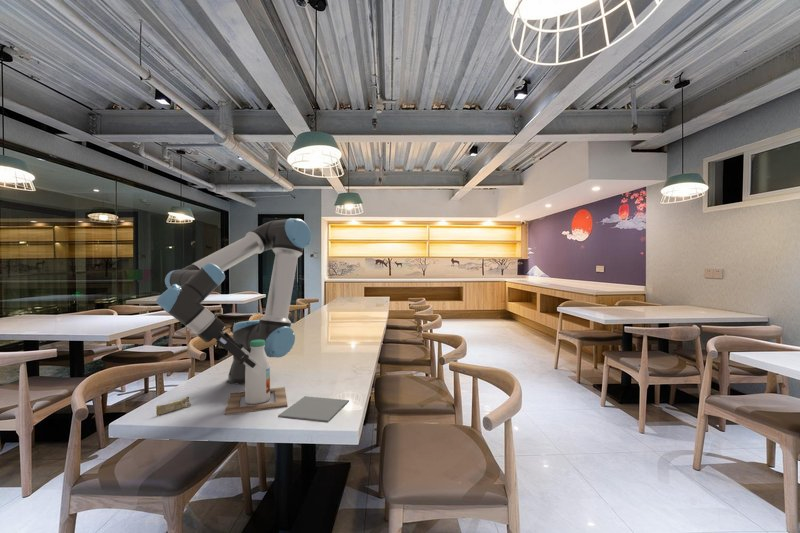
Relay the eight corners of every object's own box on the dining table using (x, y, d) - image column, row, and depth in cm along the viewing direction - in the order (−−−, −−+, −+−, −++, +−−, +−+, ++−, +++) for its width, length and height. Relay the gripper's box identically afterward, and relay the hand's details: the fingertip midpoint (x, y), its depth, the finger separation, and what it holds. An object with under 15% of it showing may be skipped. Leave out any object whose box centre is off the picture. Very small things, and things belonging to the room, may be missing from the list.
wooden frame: (230, 394, 123) (230, 392, 123) (284, 388, 130) (284, 386, 130) (224, 414, 106) (224, 412, 107) (287, 406, 113) (287, 403, 113)
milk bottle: (261, 405, 114) (261, 343, 114) (239, 404, 115) (239, 342, 115) (274, 397, 121) (274, 338, 121) (254, 395, 123) (254, 337, 123)
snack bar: (157, 416, 106) (157, 406, 106) (155, 415, 107) (155, 405, 107) (191, 406, 113) (191, 397, 113) (189, 405, 114) (189, 396, 114)
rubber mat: (304, 397, 121) (304, 396, 121) (348, 401, 117) (348, 400, 117) (278, 416, 105) (278, 415, 105) (328, 421, 101) (328, 420, 101)
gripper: (195, 329, 119) (243, 367, 127) (198, 342, 98) (255, 386, 106) (213, 312, 122) (259, 350, 130) (219, 321, 101) (274, 366, 109)
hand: (257, 366), depth 118 cm, fingers open, 13 cm apart
